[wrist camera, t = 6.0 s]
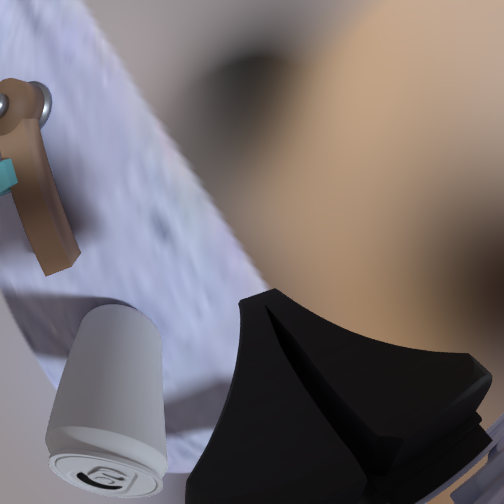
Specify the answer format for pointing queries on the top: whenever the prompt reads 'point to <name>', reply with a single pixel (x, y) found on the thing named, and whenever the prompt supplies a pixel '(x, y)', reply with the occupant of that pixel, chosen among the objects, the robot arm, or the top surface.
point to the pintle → (2, 104)
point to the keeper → (7, 176)
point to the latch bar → (35, 178)
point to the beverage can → (111, 407)
